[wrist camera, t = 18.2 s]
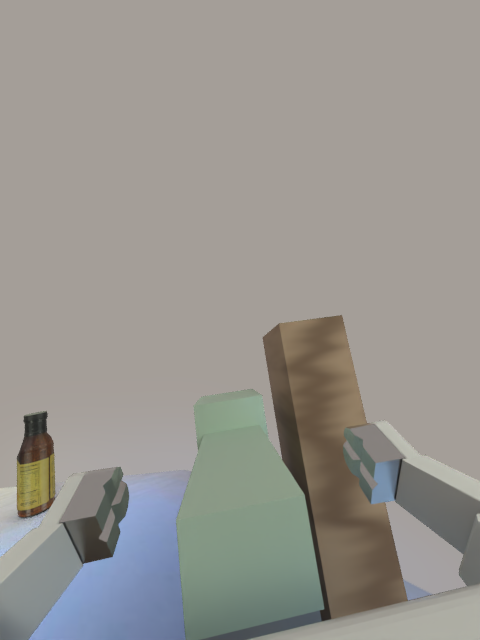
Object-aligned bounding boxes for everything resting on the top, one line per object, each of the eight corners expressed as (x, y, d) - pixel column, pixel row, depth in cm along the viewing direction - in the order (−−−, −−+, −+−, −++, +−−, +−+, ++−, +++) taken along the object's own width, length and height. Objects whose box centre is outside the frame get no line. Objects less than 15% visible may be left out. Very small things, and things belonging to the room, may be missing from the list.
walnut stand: (364, 617, 22) (307, 331, 27) (444, 758, 14) (342, 315, 19) (310, 631, 21) (262, 337, 26) (361, 785, 13) (278, 323, 18)
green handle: (260, 443, 23) (252, 388, 24) (340, 605, 7) (307, 425, 8) (207, 452, 22) (201, 396, 23) (167, 647, 7) (154, 451, 8)
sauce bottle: (38, 503, 55) (39, 411, 58) (62, 501, 54) (62, 408, 58) (6, 521, 48) (10, 417, 52) (33, 520, 47) (35, 413, 51)
